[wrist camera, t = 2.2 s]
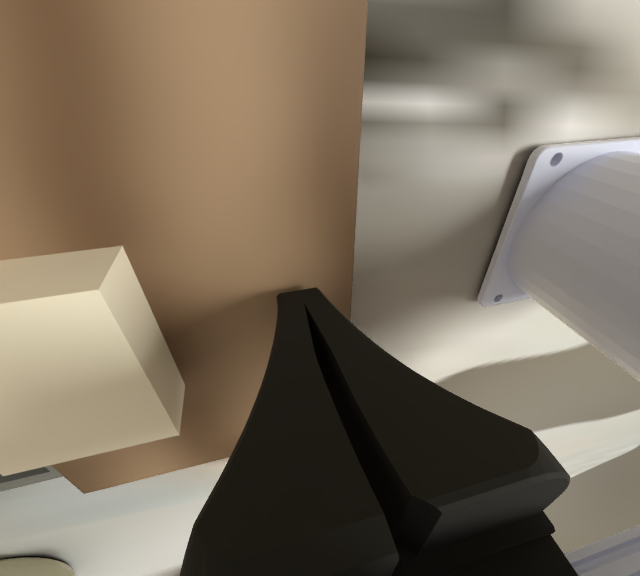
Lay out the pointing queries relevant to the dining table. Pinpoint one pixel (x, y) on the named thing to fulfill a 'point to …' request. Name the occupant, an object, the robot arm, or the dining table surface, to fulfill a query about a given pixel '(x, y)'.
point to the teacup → (34, 567)
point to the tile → (80, 361)
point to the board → (187, 178)
